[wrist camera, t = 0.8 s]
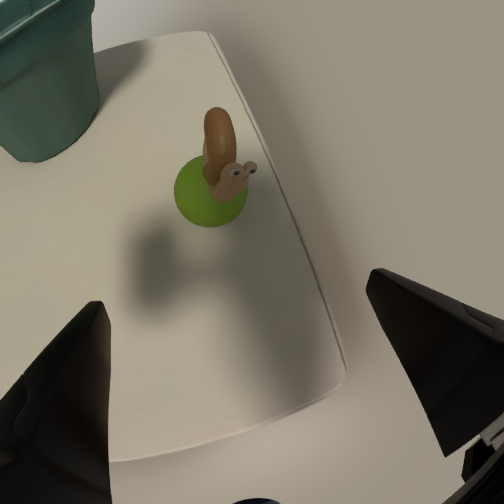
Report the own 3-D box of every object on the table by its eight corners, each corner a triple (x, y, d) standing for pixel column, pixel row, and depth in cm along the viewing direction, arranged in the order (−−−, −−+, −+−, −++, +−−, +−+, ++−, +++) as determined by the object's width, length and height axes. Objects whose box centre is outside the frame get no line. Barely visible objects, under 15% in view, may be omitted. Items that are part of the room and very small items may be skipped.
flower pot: (132, 63, 24) (126, -47, 9) (103, 173, 21) (40, 24, 6) (26, 86, 21) (-8, 3, 6) (-16, 193, 17) (-97, 116, 2)
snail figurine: (183, 253, 21) (174, 181, 10) (171, 181, 22) (163, 74, 11) (250, 241, 22) (307, 165, 11) (232, 172, 23) (267, 68, 12)
